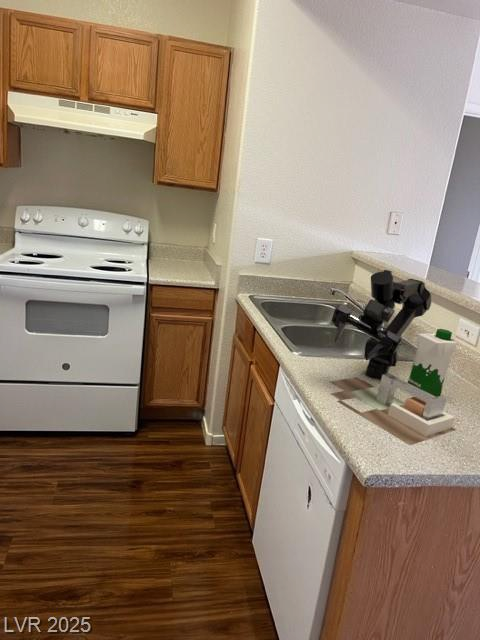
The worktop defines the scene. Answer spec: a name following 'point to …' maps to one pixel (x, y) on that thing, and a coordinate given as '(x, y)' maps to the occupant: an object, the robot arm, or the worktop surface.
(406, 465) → the worktop surface
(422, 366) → the milk carton
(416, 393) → the grey bridge
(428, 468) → the worktop surface
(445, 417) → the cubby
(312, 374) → the worktop surface
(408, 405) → the cube
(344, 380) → the board
